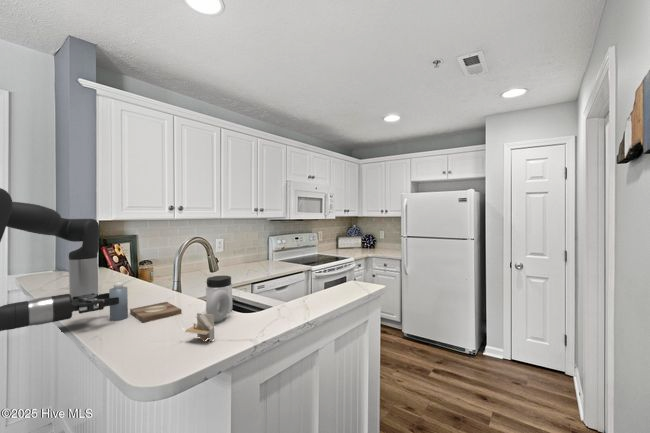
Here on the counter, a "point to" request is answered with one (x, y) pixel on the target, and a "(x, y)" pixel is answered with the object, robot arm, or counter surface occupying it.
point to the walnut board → (155, 311)
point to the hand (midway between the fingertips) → (115, 297)
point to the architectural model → (203, 326)
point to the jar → (219, 287)
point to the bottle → (119, 309)
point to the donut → (213, 302)
